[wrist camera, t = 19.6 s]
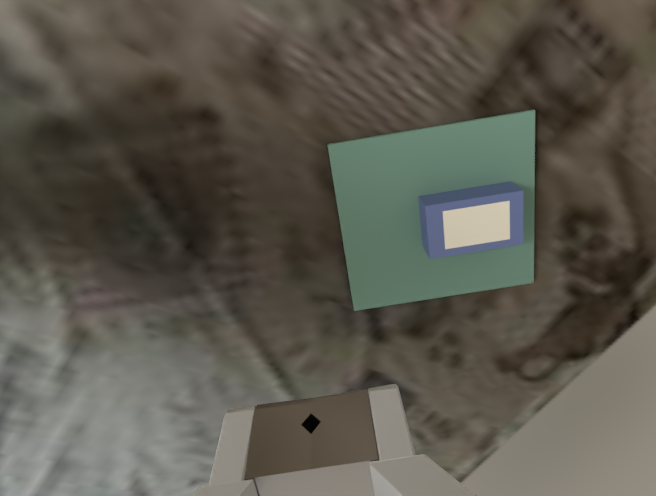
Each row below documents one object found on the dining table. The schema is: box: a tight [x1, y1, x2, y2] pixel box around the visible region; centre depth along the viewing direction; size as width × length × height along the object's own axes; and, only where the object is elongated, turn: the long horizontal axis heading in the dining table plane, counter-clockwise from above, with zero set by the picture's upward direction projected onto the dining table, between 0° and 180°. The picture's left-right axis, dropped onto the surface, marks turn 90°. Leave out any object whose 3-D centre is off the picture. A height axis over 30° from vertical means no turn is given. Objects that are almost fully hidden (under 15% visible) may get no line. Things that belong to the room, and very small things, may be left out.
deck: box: [418, 181, 523, 259], centre depth 37 cm, size 4×2×7 cm
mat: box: [327, 110, 535, 311], centre depth 38 cm, size 15×14×1 cm
